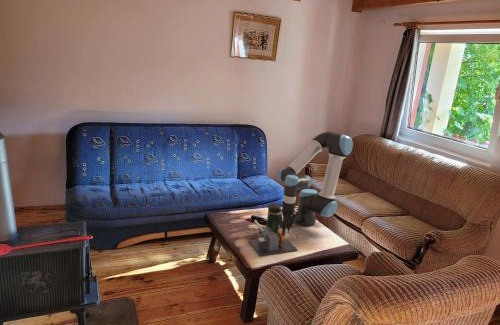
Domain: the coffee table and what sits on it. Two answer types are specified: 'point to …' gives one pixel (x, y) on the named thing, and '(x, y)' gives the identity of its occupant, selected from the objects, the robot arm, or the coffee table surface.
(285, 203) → the robot arm
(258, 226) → the keeper
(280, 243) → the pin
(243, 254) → the coffee table surface
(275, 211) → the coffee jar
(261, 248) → the hitch block
